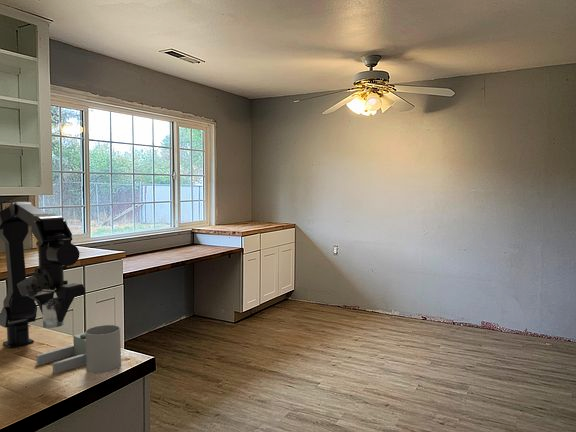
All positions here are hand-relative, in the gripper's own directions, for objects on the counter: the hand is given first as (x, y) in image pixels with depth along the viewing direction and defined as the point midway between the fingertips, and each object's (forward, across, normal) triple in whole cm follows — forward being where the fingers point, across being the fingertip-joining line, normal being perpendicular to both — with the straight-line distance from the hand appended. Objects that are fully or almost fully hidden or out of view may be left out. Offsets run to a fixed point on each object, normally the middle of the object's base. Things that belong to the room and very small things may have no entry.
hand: (53, 320), depth 121 cm
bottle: (+1, 0, 0) cm, 1 cm away
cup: (+12, +14, +4) cm, 19 cm away
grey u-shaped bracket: (+12, +3, +3) cm, 12 cm away
